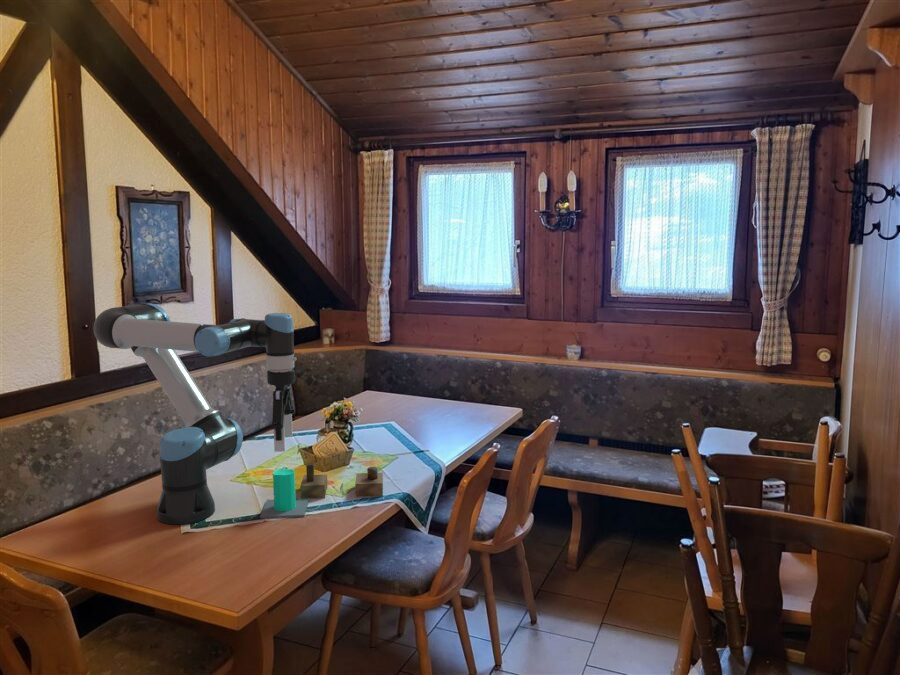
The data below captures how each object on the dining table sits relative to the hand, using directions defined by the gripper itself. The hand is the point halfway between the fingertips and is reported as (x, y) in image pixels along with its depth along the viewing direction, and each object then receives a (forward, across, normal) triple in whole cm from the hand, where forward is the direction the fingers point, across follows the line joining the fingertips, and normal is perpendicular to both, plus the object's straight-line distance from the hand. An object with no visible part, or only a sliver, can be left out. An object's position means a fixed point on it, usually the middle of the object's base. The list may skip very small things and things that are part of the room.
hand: (283, 443), depth 202 cm
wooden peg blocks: (+19, +12, -15) cm, 27 cm away
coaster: (+19, -1, 0) cm, 19 cm away
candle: (+19, -1, 0) cm, 19 cm away
